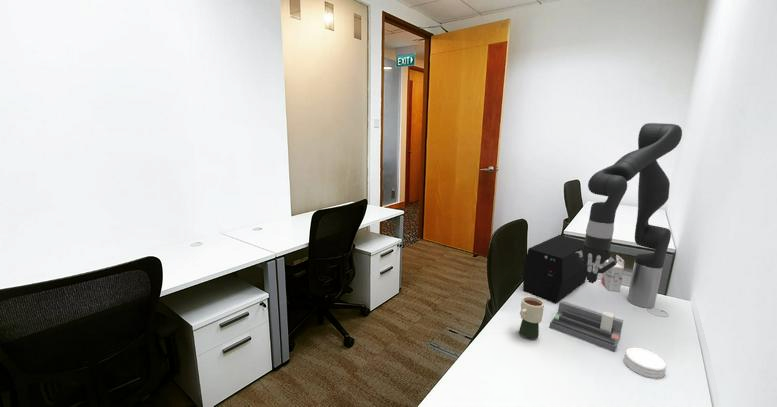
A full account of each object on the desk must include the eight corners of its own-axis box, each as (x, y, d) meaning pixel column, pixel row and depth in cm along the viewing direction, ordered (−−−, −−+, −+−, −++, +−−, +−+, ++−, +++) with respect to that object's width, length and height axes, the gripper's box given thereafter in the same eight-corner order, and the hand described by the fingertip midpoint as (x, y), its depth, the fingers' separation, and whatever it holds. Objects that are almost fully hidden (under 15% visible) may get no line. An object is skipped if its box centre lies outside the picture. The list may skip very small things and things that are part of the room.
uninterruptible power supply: (587, 283, 158) (594, 242, 153) (556, 306, 136) (563, 260, 132) (552, 271, 170) (557, 233, 165) (518, 291, 148) (523, 248, 144)
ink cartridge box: (600, 282, 159) (605, 253, 155) (611, 283, 158) (617, 254, 154) (607, 290, 150) (613, 260, 147) (620, 292, 149) (626, 261, 146)
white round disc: (647, 356, 107) (649, 346, 106) (673, 379, 97) (675, 369, 96) (616, 356, 107) (617, 346, 106) (639, 379, 97) (641, 368, 96)
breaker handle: (600, 329, 117) (604, 310, 115) (610, 332, 115) (614, 314, 113) (599, 332, 115) (602, 314, 113) (609, 336, 113) (613, 317, 111)
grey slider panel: (558, 314, 130) (560, 300, 129) (620, 335, 117) (623, 320, 116) (549, 327, 121) (551, 312, 120) (614, 352, 108) (618, 335, 107)
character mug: (528, 325, 122) (533, 292, 119) (547, 335, 116) (552, 301, 113) (509, 334, 116) (513, 300, 113) (527, 346, 110) (532, 310, 107)
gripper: (624, 235, 110) (615, 284, 114) (579, 227, 118) (572, 273, 122) (621, 241, 104) (611, 292, 108) (574, 232, 113) (567, 279, 117)
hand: (591, 282), depth 115 cm, fingers closed
